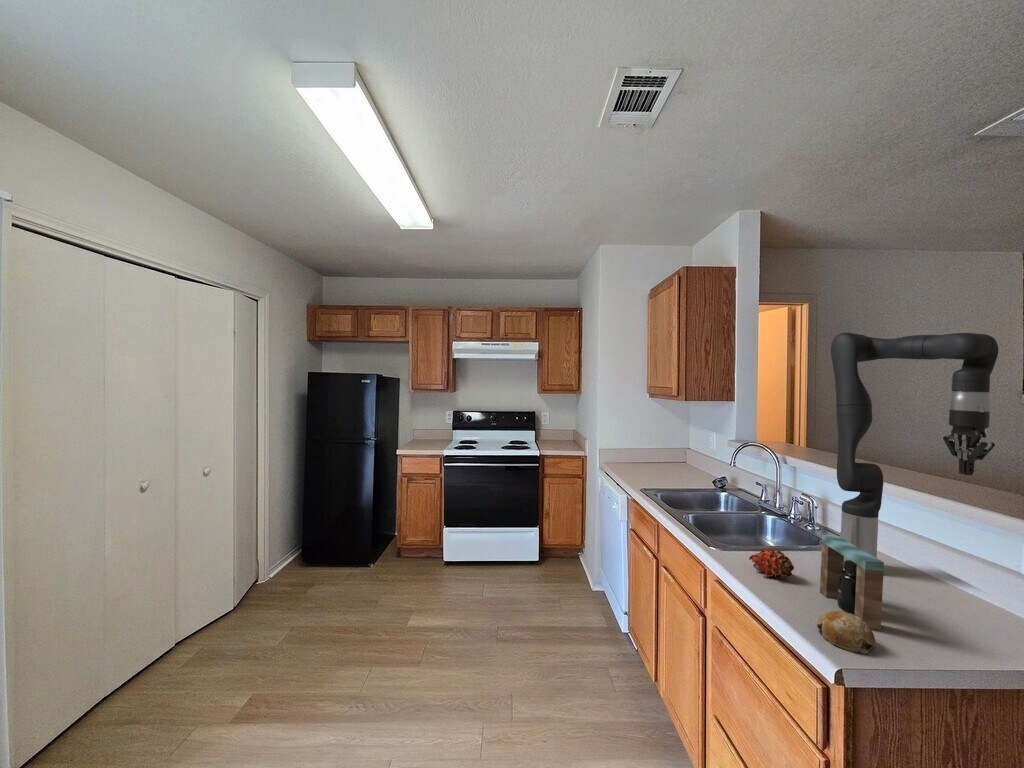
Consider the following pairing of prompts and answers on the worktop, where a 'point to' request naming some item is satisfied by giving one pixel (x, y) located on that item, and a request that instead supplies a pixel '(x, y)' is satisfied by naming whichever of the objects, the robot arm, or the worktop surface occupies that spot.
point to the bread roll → (846, 631)
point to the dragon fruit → (772, 563)
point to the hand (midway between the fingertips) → (966, 474)
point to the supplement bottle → (847, 587)
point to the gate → (866, 577)
